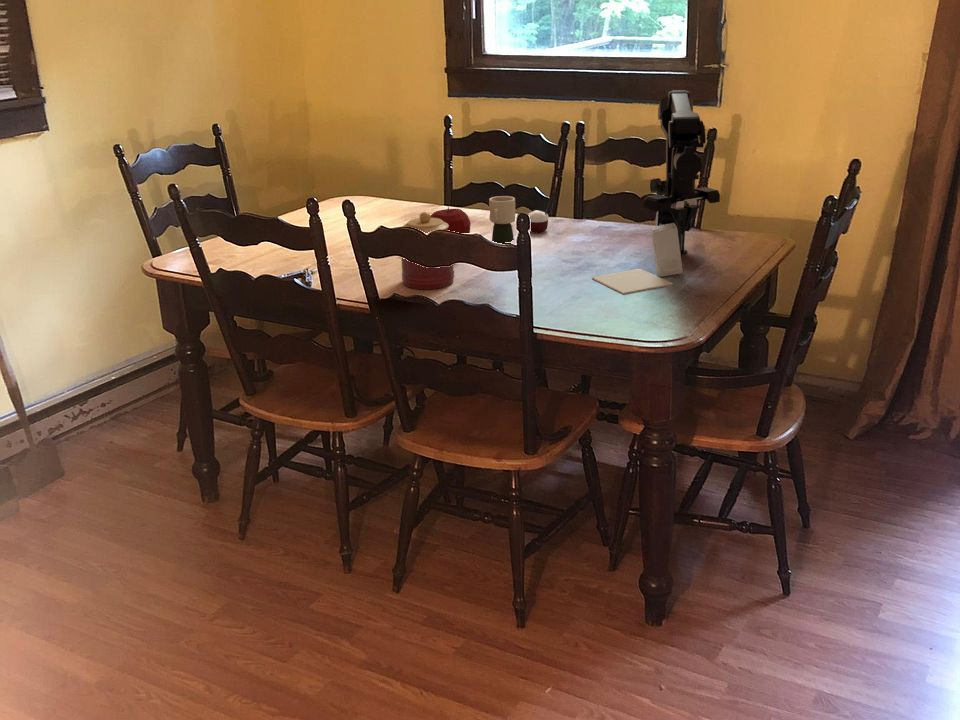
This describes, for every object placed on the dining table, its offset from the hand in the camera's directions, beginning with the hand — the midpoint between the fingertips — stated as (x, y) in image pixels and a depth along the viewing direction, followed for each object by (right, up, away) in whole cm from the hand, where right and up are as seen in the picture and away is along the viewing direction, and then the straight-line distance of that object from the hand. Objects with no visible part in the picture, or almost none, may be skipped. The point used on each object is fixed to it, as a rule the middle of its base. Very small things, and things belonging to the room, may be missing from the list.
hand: (680, 234), depth 228 cm
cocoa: (-32, +6, +45) cm, 55 cm away
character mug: (-43, +1, +33) cm, 54 cm away
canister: (-62, -12, +4) cm, 63 cm away
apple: (-57, -3, +25) cm, 62 cm away
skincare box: (-2, -9, +3) cm, 10 cm away
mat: (-12, -12, -1) cm, 17 cm away
